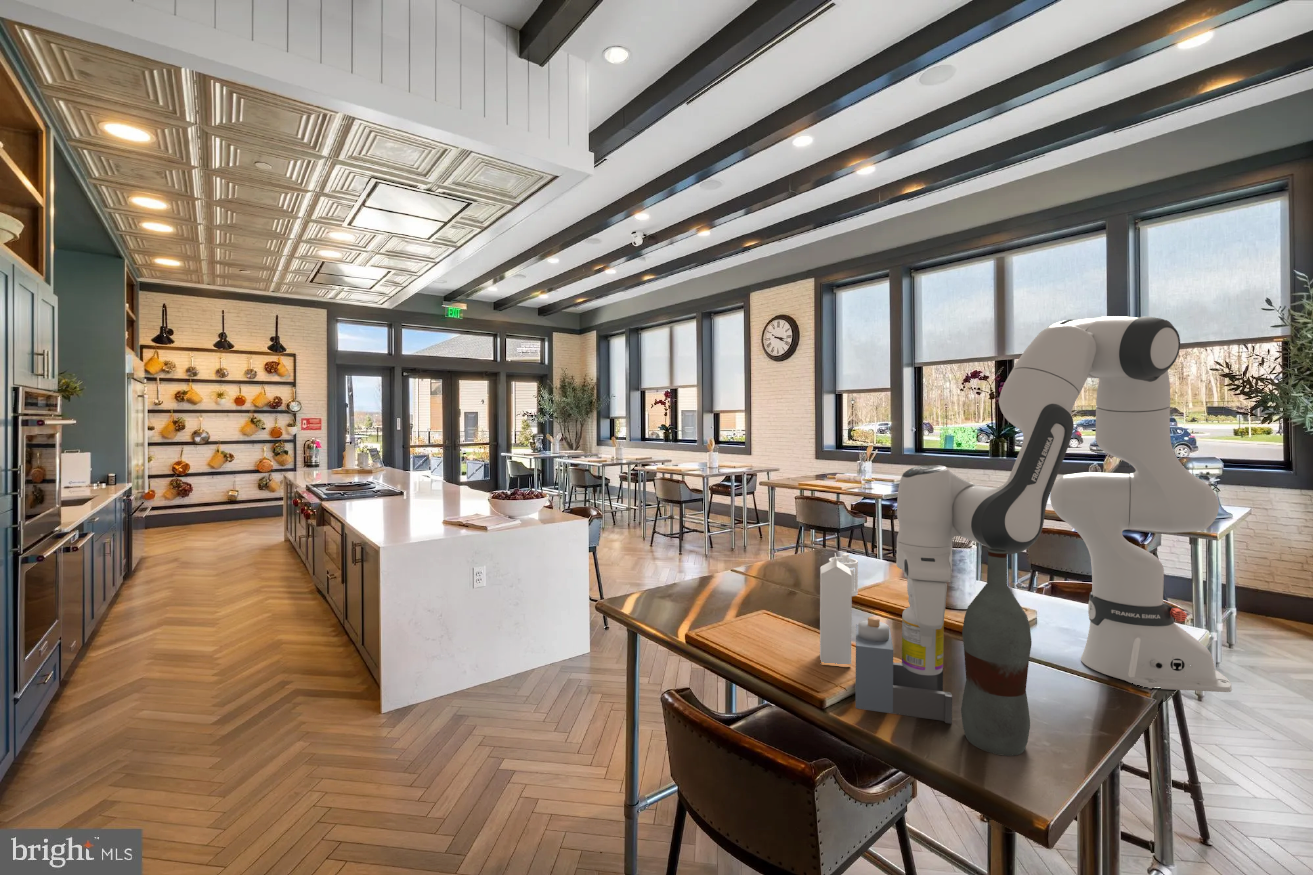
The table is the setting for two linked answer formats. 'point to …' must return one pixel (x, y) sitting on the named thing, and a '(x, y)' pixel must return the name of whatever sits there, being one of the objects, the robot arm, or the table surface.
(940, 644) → the supplement bottle
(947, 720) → the grey bottle caddy
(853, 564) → the white container
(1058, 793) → the table surface
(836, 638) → the milk
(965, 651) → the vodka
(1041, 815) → the table surface
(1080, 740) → the table surface
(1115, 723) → the table surface
